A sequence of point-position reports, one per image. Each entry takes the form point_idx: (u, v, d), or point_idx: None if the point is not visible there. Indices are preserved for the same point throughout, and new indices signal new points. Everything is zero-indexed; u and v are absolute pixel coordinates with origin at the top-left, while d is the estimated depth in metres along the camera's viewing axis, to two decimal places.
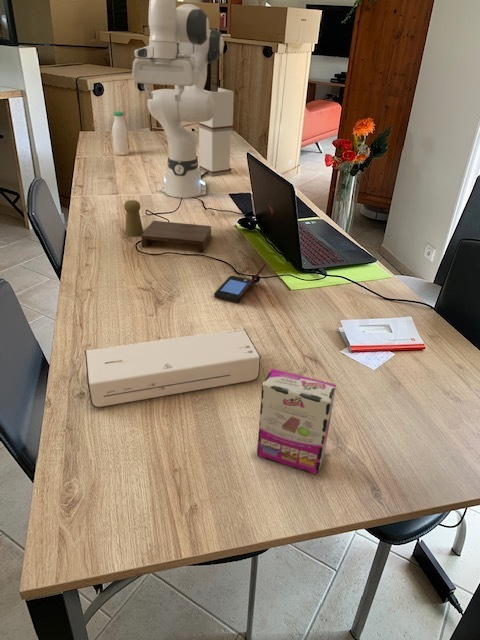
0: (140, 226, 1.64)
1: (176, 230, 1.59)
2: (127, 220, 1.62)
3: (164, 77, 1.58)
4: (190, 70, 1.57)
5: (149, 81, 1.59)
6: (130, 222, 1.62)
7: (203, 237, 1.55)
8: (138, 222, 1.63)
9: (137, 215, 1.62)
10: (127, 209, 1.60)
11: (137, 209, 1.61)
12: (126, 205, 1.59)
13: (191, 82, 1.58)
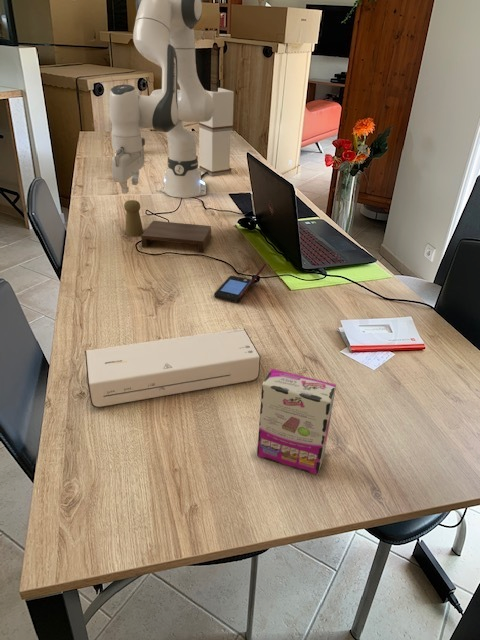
0: (140, 226, 1.64)
1: (176, 230, 1.59)
2: (127, 220, 1.62)
3: None
4: (112, 166, 1.45)
5: None
6: (130, 222, 1.62)
7: (203, 237, 1.55)
8: (138, 222, 1.63)
9: (137, 215, 1.62)
10: (127, 209, 1.60)
11: (137, 209, 1.61)
12: (126, 205, 1.59)
13: None
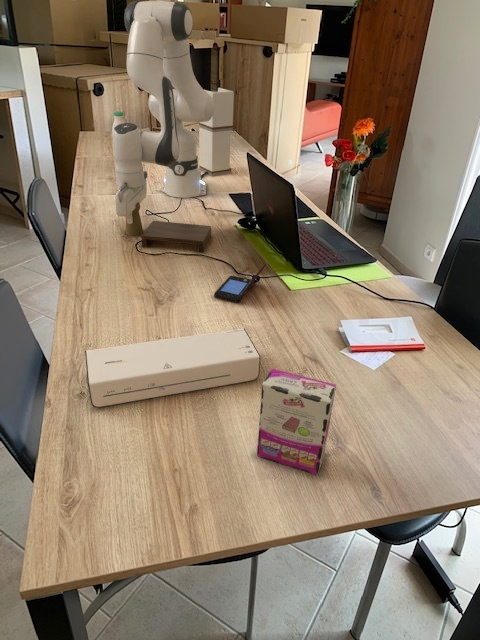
0: (140, 226, 1.64)
1: (176, 230, 1.59)
2: None
3: None
4: None
5: None
6: None
7: (203, 237, 1.55)
8: (138, 222, 1.63)
9: (137, 215, 1.62)
10: None
11: (137, 209, 1.61)
12: None
13: (116, 212, 1.53)
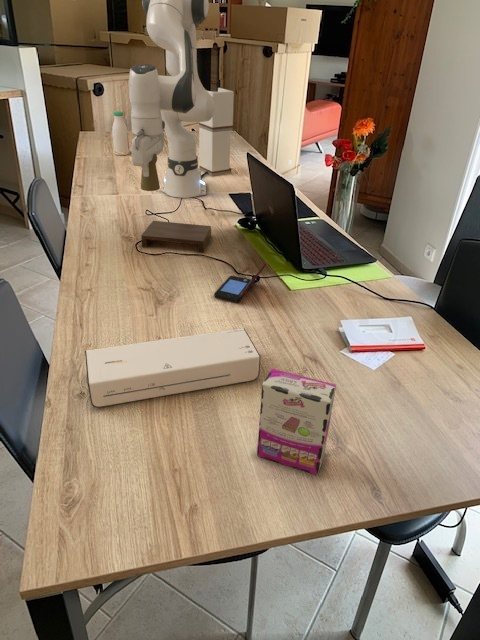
0: (157, 180, 1.53)
1: (176, 230, 1.59)
2: None
3: None
4: None
5: None
6: None
7: (203, 237, 1.55)
8: (155, 175, 1.52)
9: (154, 168, 1.51)
10: None
11: (154, 161, 1.49)
12: None
13: (132, 162, 1.42)
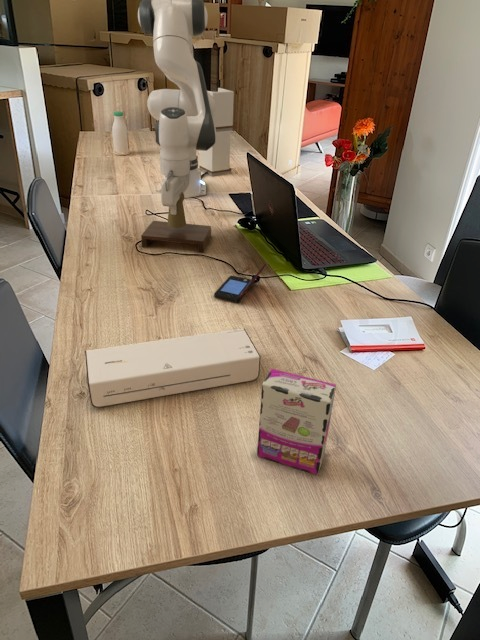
0: (183, 217, 1.56)
1: (176, 230, 1.59)
2: (170, 211, 1.54)
3: None
4: (161, 190, 1.43)
5: None
6: None
7: (203, 237, 1.55)
8: (182, 213, 1.55)
9: (181, 206, 1.54)
10: None
11: (182, 200, 1.52)
12: None
13: None
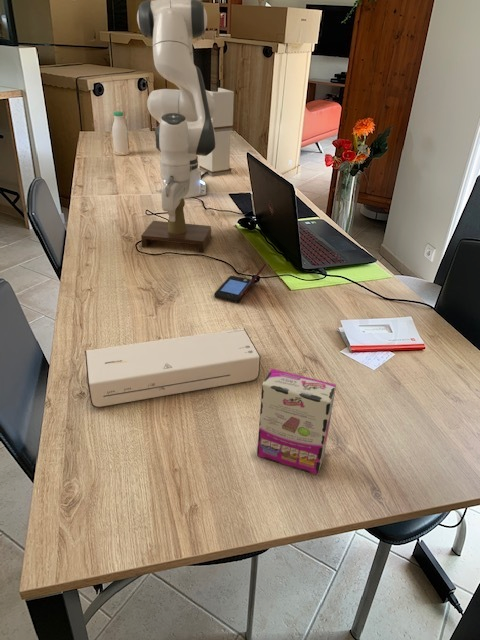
0: (184, 223, 1.57)
1: None
2: None
3: None
4: (162, 196, 1.44)
5: None
6: None
7: (203, 237, 1.55)
8: (182, 219, 1.56)
9: (181, 212, 1.55)
10: None
11: (182, 206, 1.53)
12: None
13: (162, 207, 1.46)
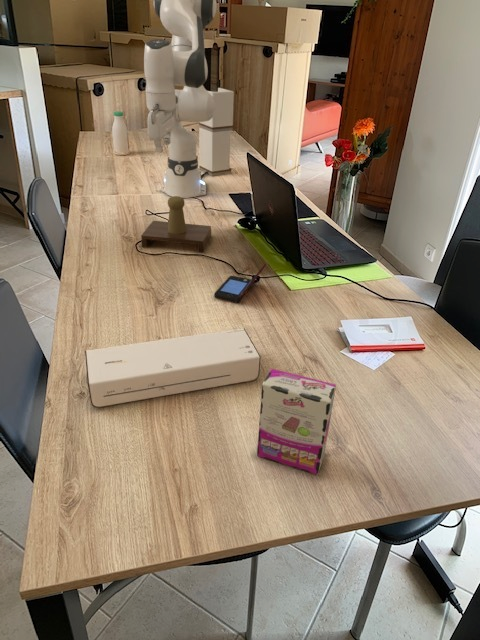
0: (183, 223, 1.57)
1: None
2: (170, 217, 1.55)
3: None
4: None
5: None
6: (174, 219, 1.55)
7: (203, 237, 1.55)
8: (182, 219, 1.56)
9: (181, 212, 1.55)
10: (171, 205, 1.53)
11: (182, 206, 1.53)
12: (170, 201, 1.52)
13: (148, 136, 1.46)
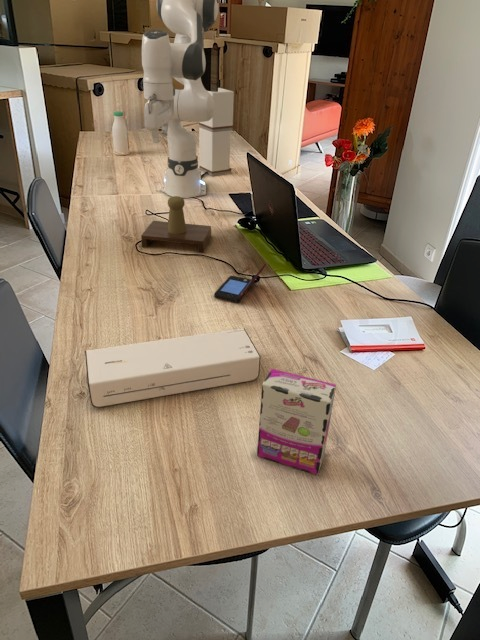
0: (183, 223, 1.57)
1: None
2: (170, 217, 1.55)
3: None
4: (144, 113, 1.45)
5: None
6: (174, 219, 1.55)
7: (203, 237, 1.55)
8: (182, 219, 1.56)
9: (181, 212, 1.55)
10: (171, 205, 1.53)
11: (182, 206, 1.53)
12: (170, 201, 1.52)
13: (145, 125, 1.46)
